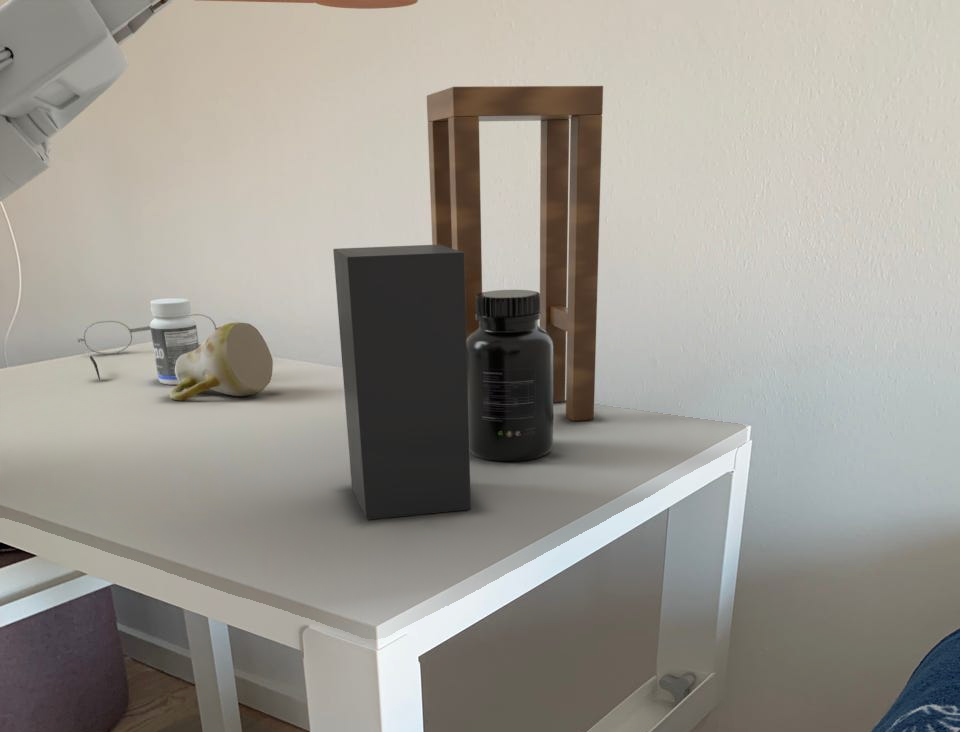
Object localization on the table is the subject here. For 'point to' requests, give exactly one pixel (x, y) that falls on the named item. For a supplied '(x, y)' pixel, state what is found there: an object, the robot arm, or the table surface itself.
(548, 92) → the tall stand
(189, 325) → the pill bottle
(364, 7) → the measuring cup
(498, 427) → the supplement bottle
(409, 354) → the charcoal tower block
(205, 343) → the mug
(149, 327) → the eyeglasses
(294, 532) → the table surface
